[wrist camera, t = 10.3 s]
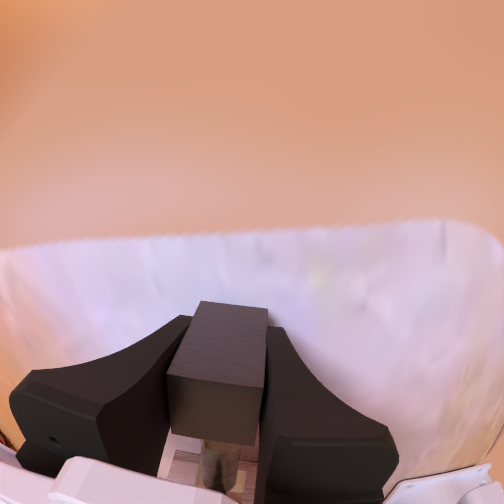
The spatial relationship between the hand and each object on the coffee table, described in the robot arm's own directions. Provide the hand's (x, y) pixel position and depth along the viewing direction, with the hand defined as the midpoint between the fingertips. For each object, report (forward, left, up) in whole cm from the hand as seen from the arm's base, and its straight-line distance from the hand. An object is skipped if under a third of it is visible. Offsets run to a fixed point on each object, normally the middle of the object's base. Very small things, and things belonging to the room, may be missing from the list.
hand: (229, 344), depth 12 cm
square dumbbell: (0, +4, -1) cm, 4 cm away
